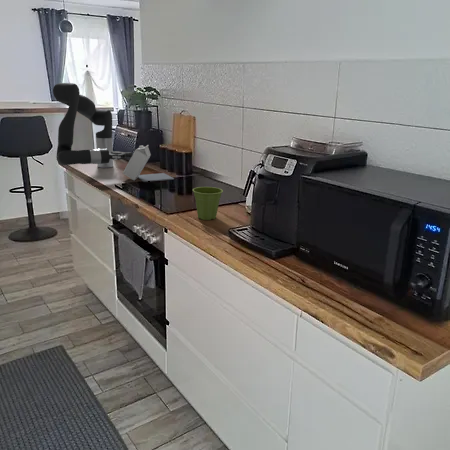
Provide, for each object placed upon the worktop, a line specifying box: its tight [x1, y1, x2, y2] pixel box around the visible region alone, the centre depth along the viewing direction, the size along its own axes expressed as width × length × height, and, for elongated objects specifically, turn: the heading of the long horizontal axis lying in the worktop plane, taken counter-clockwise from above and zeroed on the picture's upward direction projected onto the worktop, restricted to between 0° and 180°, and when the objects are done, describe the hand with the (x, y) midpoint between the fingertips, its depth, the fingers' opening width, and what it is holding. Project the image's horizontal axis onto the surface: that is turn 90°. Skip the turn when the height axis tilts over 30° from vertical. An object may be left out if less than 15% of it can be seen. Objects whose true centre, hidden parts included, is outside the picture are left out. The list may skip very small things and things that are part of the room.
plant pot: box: [192, 186, 224, 221], centre depth 173 cm, size 12×12×11 cm
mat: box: [137, 172, 175, 183], centre depth 240 cm, size 15×17×1 cm
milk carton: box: [122, 144, 152, 181], centre depth 231 cm, size 7×7×19 cm
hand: (132, 154), depth 232 cm, fingers closed
